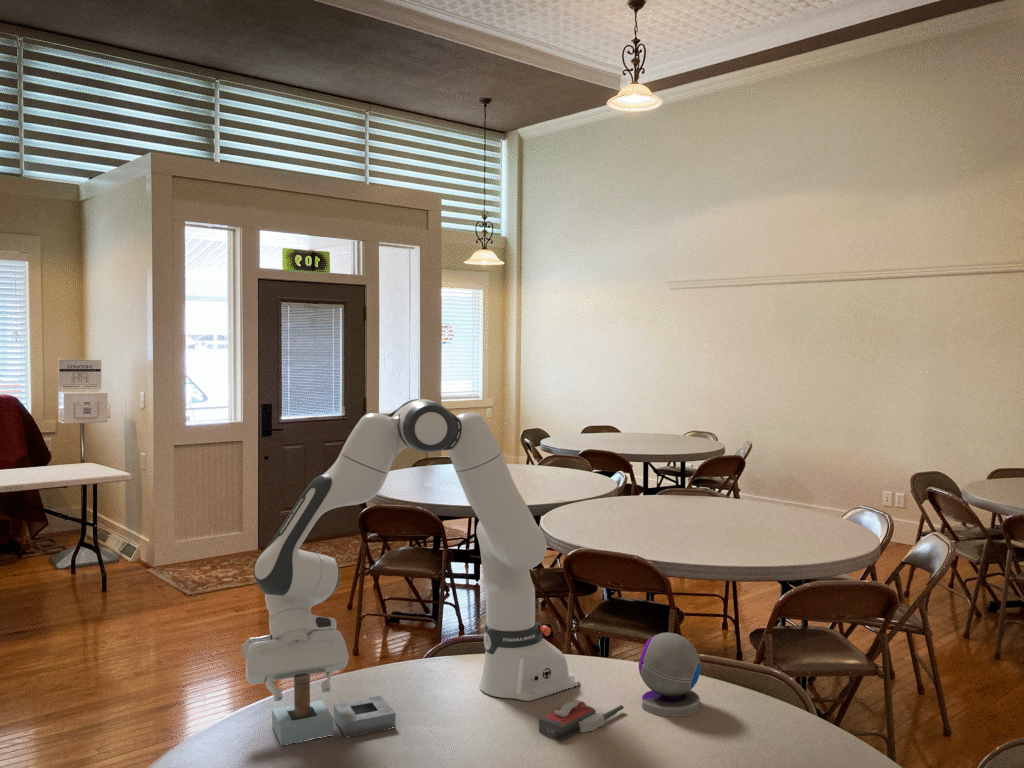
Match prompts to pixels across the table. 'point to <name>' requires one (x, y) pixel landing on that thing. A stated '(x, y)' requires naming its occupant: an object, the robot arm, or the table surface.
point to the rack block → (302, 723)
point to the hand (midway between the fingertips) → (302, 695)
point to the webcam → (670, 675)
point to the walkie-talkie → (573, 720)
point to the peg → (302, 696)
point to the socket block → (364, 716)
